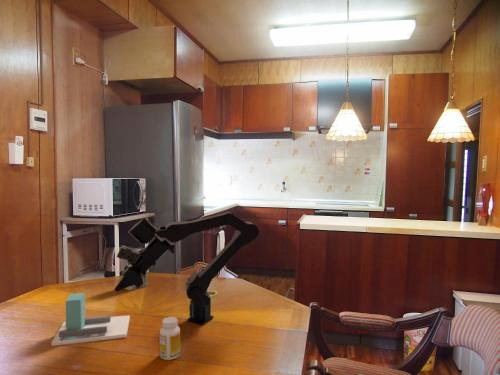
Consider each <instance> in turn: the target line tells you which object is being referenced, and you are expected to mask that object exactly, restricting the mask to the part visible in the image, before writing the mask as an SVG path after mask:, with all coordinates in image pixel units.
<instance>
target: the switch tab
mask: <svg viewBox="0 0 500 375" xmlns="http://www.w3.org/2000/svg"><path fill="white" fill-rule="evenodd" d="M85 296H86V293H85V292H79V293H78V292H77V293H70V295H69V296H68V297H67V298H66V300H65V322H66V330H74V329H83V328H84V326H85V318H86V297H85Z"/></svg>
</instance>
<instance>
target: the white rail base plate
mask: <svg viewBox="0 0 500 375" xmlns="http://www.w3.org/2000/svg"><path fill="white" fill-rule="evenodd" d="M130 319H131V315H118V316H111V315H106V316H97V317H96V316H94V317H85V326H84V328H83V329H74V330H66V321H63V323H62V324H61V327H60V328H59V330H58V331H57V333H56V334H55V336H54V338H53V339H52V341H51V347H53V346H54V347H55V346H62V345H70V344H71V345H72V344H73V345H74V344H80V343H81V344H82V343H89V342H98V341H105V340H106V341H107V340H116V339H123V338H127V337H128V336H127V335H128V329H129V325H130Z"/></svg>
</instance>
